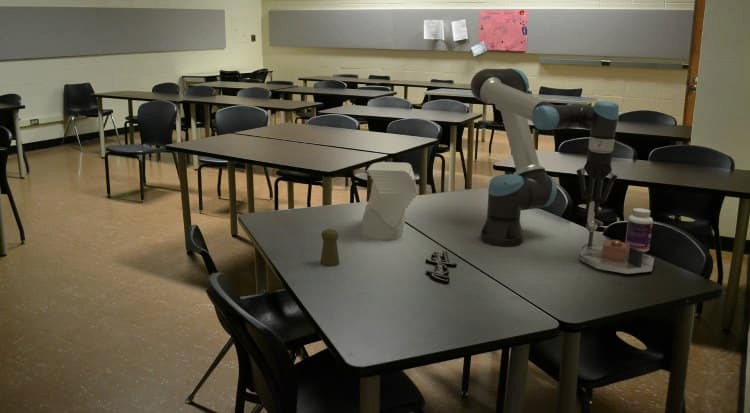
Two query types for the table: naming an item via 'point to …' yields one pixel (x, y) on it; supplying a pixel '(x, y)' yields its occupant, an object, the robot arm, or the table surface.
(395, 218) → the paper stack
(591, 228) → the dial stand
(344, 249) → the table surface
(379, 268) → the table surface
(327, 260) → the cork
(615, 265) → the turntable
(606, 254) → the pink gift box
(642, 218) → the pill bottle
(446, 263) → the black irregular piece
